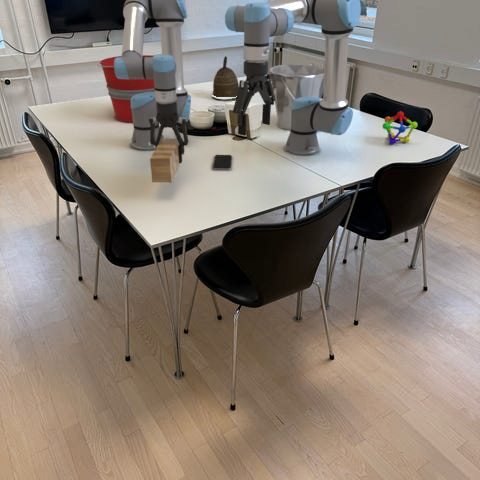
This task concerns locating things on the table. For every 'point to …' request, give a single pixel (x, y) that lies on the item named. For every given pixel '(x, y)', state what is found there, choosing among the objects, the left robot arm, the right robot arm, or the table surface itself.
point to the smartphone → (222, 162)
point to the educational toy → (398, 128)
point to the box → (165, 160)
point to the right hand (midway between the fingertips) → (254, 129)
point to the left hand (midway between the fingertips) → (171, 161)
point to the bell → (225, 82)
